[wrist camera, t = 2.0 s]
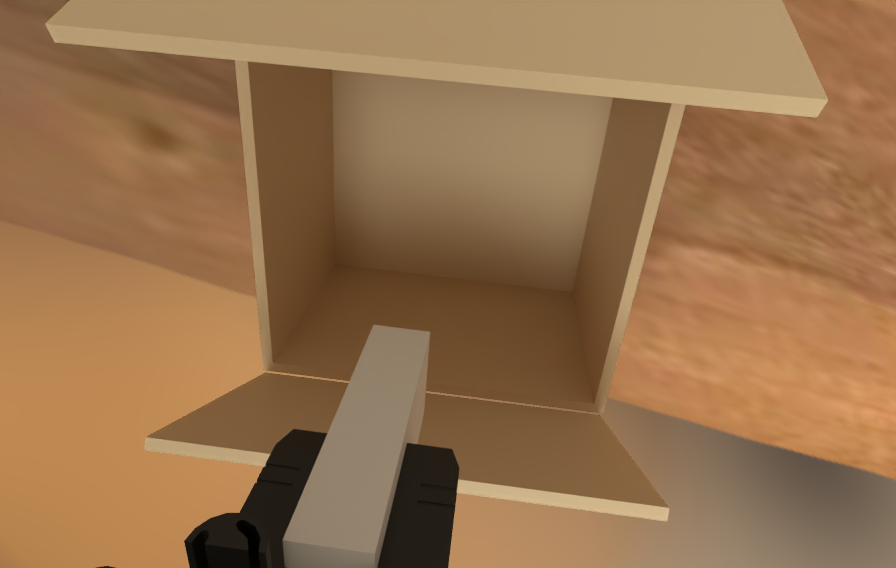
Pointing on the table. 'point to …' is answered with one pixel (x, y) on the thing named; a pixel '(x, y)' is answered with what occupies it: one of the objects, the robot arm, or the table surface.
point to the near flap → (489, 43)
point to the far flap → (437, 443)
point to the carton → (450, 225)
